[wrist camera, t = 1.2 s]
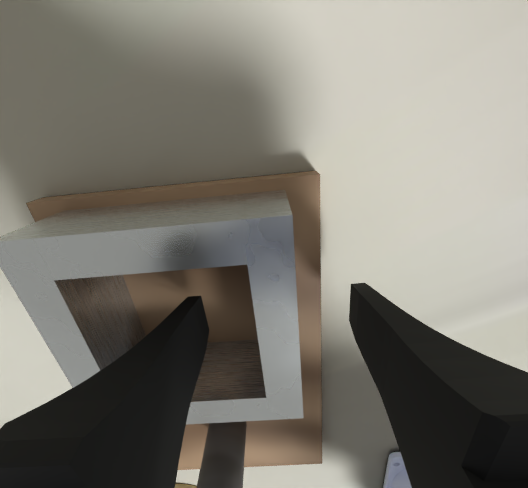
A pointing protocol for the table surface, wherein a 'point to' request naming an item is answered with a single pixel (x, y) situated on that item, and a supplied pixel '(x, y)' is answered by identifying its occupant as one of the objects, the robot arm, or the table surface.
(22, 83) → the table surface
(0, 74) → the table surface
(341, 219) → the table surface
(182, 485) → the hand bell
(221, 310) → the brown board
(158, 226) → the grey square frame
